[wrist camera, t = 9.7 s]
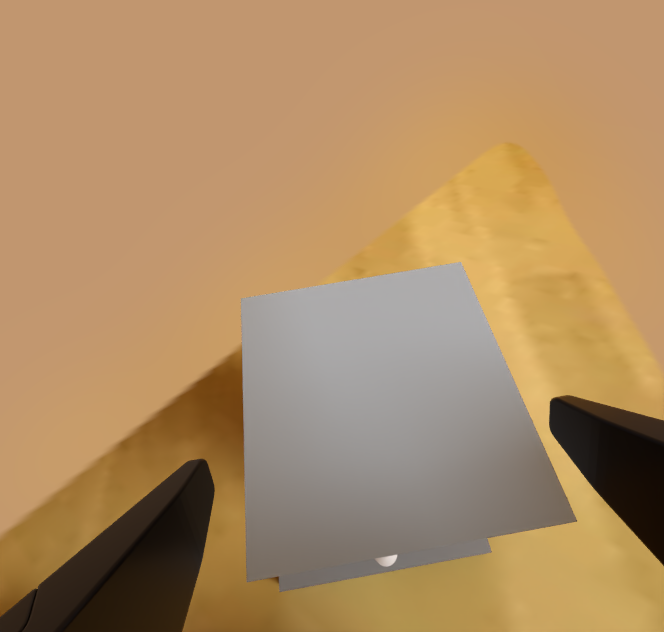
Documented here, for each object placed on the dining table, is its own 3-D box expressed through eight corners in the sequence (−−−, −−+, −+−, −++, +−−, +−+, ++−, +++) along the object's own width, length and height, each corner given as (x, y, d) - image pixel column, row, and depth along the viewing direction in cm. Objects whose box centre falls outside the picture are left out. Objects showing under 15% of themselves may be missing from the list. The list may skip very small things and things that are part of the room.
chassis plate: (484, 549, 16) (515, 562, 13) (283, 586, 16) (266, 608, 13) (424, 361, 21) (436, 338, 18) (270, 387, 21) (255, 369, 18)
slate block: (421, 502, 16) (577, 521, 5) (323, 520, 16) (246, 581, 5) (396, 404, 19) (461, 262, 7) (311, 419, 19) (241, 298, 7)
